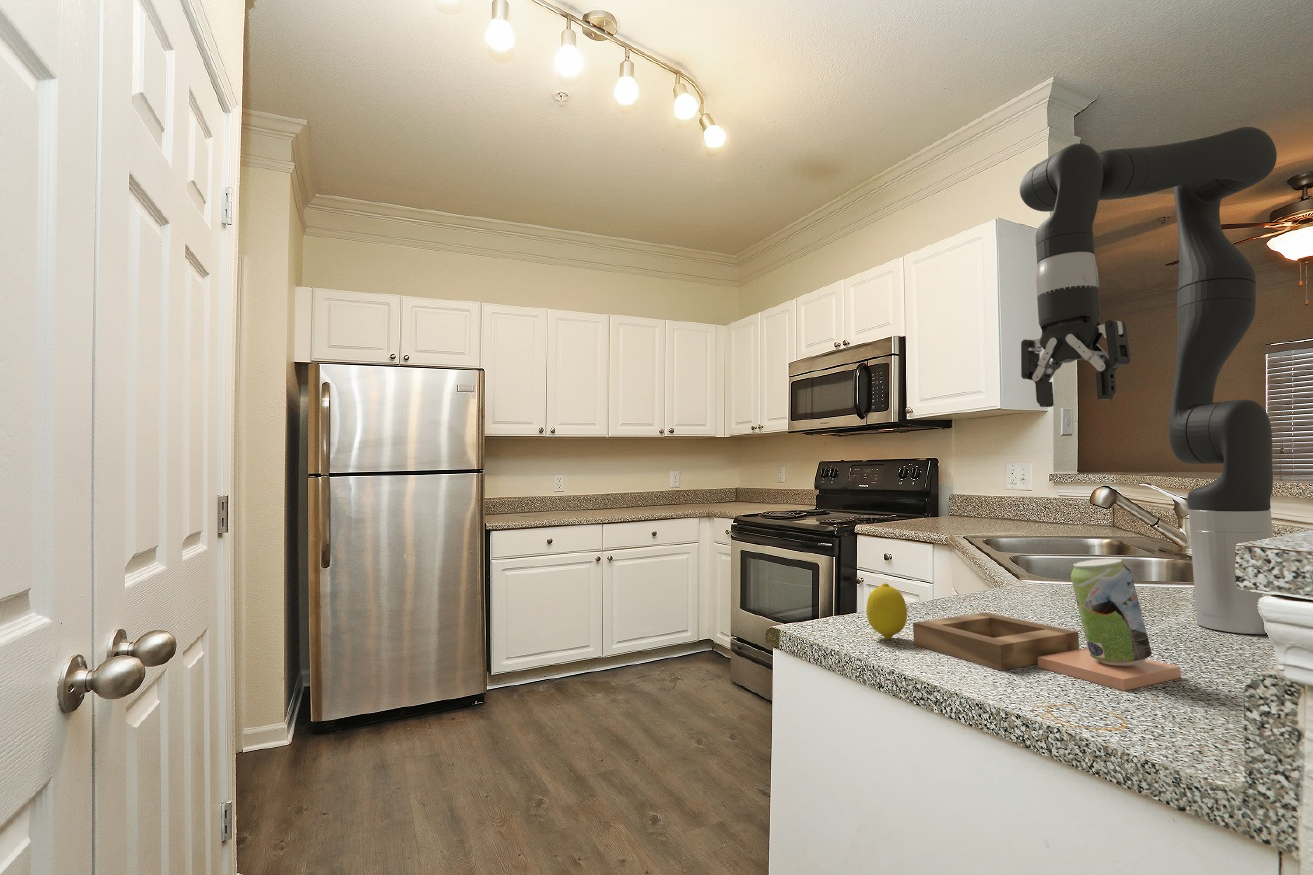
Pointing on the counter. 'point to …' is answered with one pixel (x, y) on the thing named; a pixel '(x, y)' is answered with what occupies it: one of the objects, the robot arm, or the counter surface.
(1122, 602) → the beverage can
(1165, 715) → the counter surface
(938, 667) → the counter surface
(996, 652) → the board
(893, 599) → the lemon
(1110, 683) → the plate
